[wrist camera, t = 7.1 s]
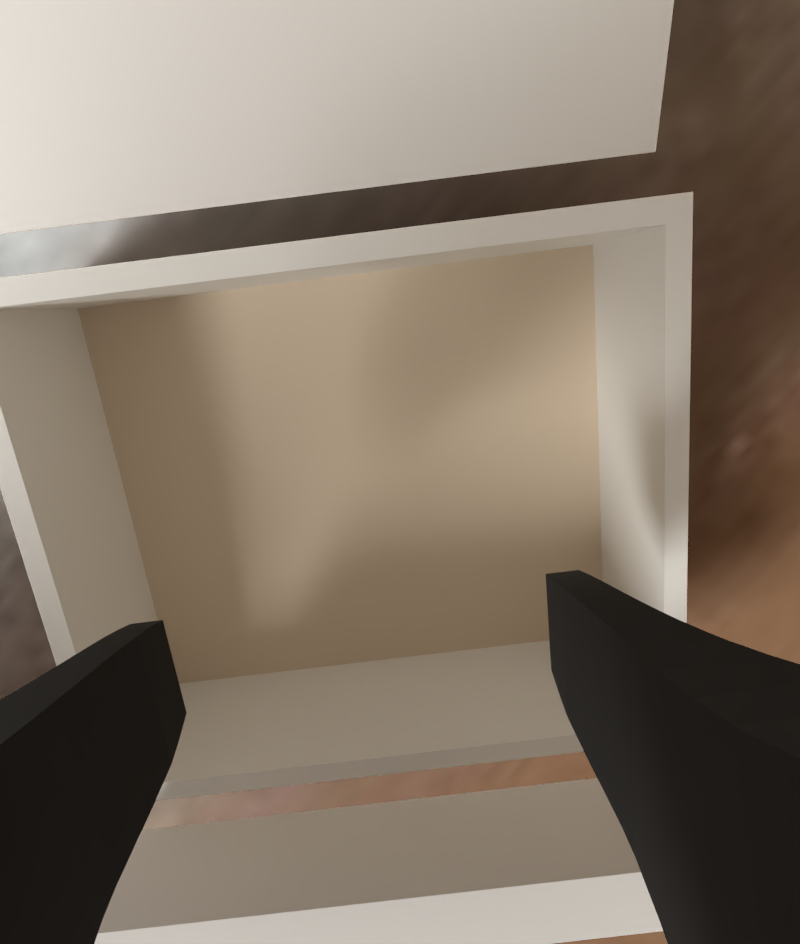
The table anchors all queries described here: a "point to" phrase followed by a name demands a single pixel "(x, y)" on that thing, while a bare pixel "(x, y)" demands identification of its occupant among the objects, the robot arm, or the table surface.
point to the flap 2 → (391, 874)
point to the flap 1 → (308, 97)
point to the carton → (355, 475)
